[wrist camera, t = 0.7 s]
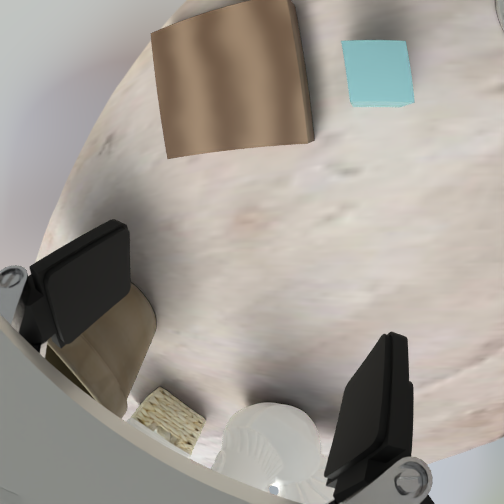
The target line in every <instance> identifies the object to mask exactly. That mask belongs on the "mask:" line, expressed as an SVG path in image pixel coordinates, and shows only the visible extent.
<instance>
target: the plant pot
mask: <svg viewBox="0 0 504 504" xmlns="http://www.w3.org/2000/svg"><path fill="white" fill-rule="evenodd" d="M155 331H156V318H155V314H154V312H153V309H152V307H151V305H150V303H149V302H148V300H147V299H146V297H145V296H144V295H143V293H142V292H141V291H140V290H139V289H138V288H137V287H136V286H135V285H134V284H132V283H131V288H130V291H129V293H128V294H127V295H126V296H125V297H124V298H123V299H122V300H120V301H119V302H118V303H117V304H116V305H114V306H113V307H112V308H111V309H110V310H109V311H107V312H106V313H105V314H104V315H103V316H102V317H100V318H99V319H98V320H97V321H96V322H95V323H93V324H92V325H91V326H90V327H89V328H88V329H87V330H85V331H84V332H83V333H82V334H81V335H80V336H79V337H77V338H76V339H75V340H74V341H73V342H72V343H70V344H66V345H65V346H64V347H63V348H60V347H58V346H57V345H56V344H55V343H54V342H53V341H52V339H51V337H50V338H49V339H48V341H47V348H46V354H45V359H46V360H47V361H48V362H49V363H50V364H52V365H53V366H54V367H55V368H56V369H57V370H58V371H59V372H61V373H62V374H63V375H64V376H65V377H67V378H68V379H69V380H70V381H71V382H73V383H74V384H75V385H76V386H77V387H79V388H80V389H81V390H82V391H84V392H85V393H86V394H88V395H89V396H90V397H91V398H93V399H94V400H95V401H97V402H98V403H99V404H101V405H102V406H104V407H105V408H106V409H108V410H109V411H111V412H112V413H113V414H115V415H116V416H118V417H119V418H121V419H122V417H123V416H124V414H125V413H126V411H127V398H128V395H129V393H130V391H131V388H132V386H133V384H134V382H135V379H136V377H137V374H138V372H139V370H140V367H141V365H142V363H143V360H144V358H145V356H146V353H147V351H148V348H149V346H150V344H151V341H152V339H153V336H154V333H155Z"/></svg>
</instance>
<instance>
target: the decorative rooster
mask: <svg viewBox="0 0 504 504" xmlns="http://www.w3.org/2000/svg"><path fill="white" fill-rule="evenodd" d="M321 452H322V448H321V441H320V437H319V434H318V431H317V428H316V426H315V424H314V423H313V421H312V420H311V419H310V417H309V416H308V415H307V414H306V413H305V412H303V411H302V410H300V409H298V408H295V407H293V406H290V405H284V404H278V403H271V402H265V403H258V404H254V405H251V406H248V407H246V408H244V409H242V410H239V411H238V412H236V413H235V414H234V415H233V416H232V417H231V418H230V420H229V422H228V423H227V425H226V427H225V429H224V432H223V437H222V447H221V451H220V452H219V453H218V455H217V457H216V460H215V463H214V464H213V465H212V467H211V470H214V471H216V472H218V473H220V474H223V475H225V476H227V477H230V478H232V479H234V480H237V481H239V482H242V483H244V484H247V485H249V486H252V487H254V488H257V489H260V490H262V491H265V492H268V493H270V492H269V487H270V486H271V485H273V486H277V487H278V489H279V493H278V495H277V496H280V497H283V498H286V499H289V500H292V501H295V502H299V503H302V504H326V503H327V502H329V501H330V500H332V499H333V498H334V497H333V493H334V490H335V488H332V487H328V486H326V482H327V479H328V478H325V477H324V471H325V468H326V464H327V461H328V458H327V457H326V456H324V455H323V454H321Z"/></svg>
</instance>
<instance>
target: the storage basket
mask: <svg viewBox="0 0 504 504" xmlns="http://www.w3.org/2000/svg"><path fill="white" fill-rule="evenodd" d="M126 422H127V423H128V424H130V425H131V426H133V427H134V428H136V429H138V430H139V431H141V432H142V433H144V434H146V435H147V436H149V437H151V438H152V439H154V440H156V441H158V442H159V443H161V444H163V445H164V446H166V447H168V448H170V449H172V450H173V451H175V452H177V453H179V454H181V455H183V456H185V457H187V458H189V459H190V457H191V454H192V450H193V449H194V446H195V444H196V442H197V439H198V438H199V436H200V434H201V431H202V428H203V426H204V424H205V422H206V420H205V419H204V418H203V417H202V416H201V415H199V414H198V413H196V412H195V411H194V410H192V409H190V408H189V407H188V406H187V405H185V404H184V403H182V402H181V401H180V400H179V399H177V398H176V397H174V396H173V395H171V393H169V392H168V391H166V390H164V389H163V388H161V387H158V388H157V389H156V390H154V392H152V393H151V394H150V395H148V397H147V398H146V399H145V400H144V401H143V402H142V404H141V405H140V406H139V407H138V408H137V409H136V412H134V414H133V415H132V416H131V418H130V419H128V420H127V421H126Z"/></svg>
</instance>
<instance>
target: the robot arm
mask: <svg viewBox="0 0 504 504" xmlns="http://www.w3.org/2000/svg"><path fill="white" fill-rule="evenodd" d="M496 11H497V15H498V19H499V21H500V24H501V26H502V29H503V31H504V0H496ZM30 271H31V275H30V276H28V274H27V270H26V269H25V268H23V267H21V266H16V265H15V266H9V267H6V268H4V269H3V270H1V271H0V504H302V503H299V502H295V501H292V500H289V499H286V498H283V497H280V496H277V495H274V494H271V493H268V492H265V491H262V490H260V489H257V488H254V487H252V486H249V485H247V484H244V483H242V482H239V481H237V480H234V479H232V478H230V477H227V476H225V475H223V474H220V473H218V472H216V471H214V470H211V469H209V468H207V467H205V466H203V465H201V464H199V463H197V462H195V461H193V460H191V459H189V458H187V457H185V456H183V455H181V454H179V453H177V452H175V451H173V450H172V449H170V448H168V447H166V446H164V445H163V444H161V443H159V442H158V441H156V440H154V439H152V438H151V437H149V436H147V435H146V434H144V433H142V432H141V431H139V430H138V429H136V428H134V427H133V426H131V425H130V424H128V423H127V422H125V421H124V420H122V419H121V418H119V417H118V416H116V415H115V414H113V413H112V412H111V411H109V410H108V409H106V408H105V407H104V406H102V405H101V404H99V403H98V402H97V401H95V400H94V399H93V398H91V397H90V396H89V395H88V394H86V393H85V392H84V391H82V390H81V389H80V388H79V387H77V386H76V385H75V384H74V383H73V382H71V381H70V380H69V379H68V378H67V377H65V376H64V375H63V374H62V373H61V372H59V371H58V370H57V369H56V368H55V367H54V366H53V365H52V364H50V363H49V362H48V361H47V360H46V359H45V354H46V348H47V341H48V339H49V338H50V337H51V339H52V341H53V342H54V343H55V344H56V345H57V346H58V347H60V348H63V347H64V346H65V345H66V344H70V343H72V342H73V341H74V340H75V339H76V338H77V337H79V336H80V335H81V334H82V333H83V332H84V331H85V330H87V329H88V328H89V327H90V326H91V325H92V324H93V323H95V322H96V321H97V320H98V319H99V318H100V317H102V316H103V315H104V314H105V313H106V312H107V311H109V310H110V309H111V308H112V307H113V306H114V305H116V304H117V303H118V302H119V301H120V300H122V299H123V298H124V297H125V296H126V295H127V294H128V293H129V291H130V288H131V280H130V234H129V230H128V228H127V225H125V224H124V223H121V222H119V221H117V220H114V219H112V220H110V221H108V222H106V223H104V224H102V225H100V226H98V227H97V228H95V229H93V230H91V231H89V232H87V233H86V234H84V235H82V236H80V237H78V238H77V239H75V240H73V241H71V242H70V243H68V244H66V245H64V246H63V247H61V248H59V249H58V250H56V251H54V252H53V253H51V254H49V255H48V256H46V257H44V258H43V259H41V260H39V261H38V262H36V263H34V264H33V265H31V266H30ZM412 436H413V384H412V382H410V381H409V361H408V340H407V337H405V336H402V335H400V334H397V333H394V332H390V333H389V334H388V335H386V334H383V335H382V336H381V337H380V339H379V340H378V342H377V343H376V345H375V346H374V348H373V349H372V351H371V352H370V353H369V355H368V356H367V358H366V359H365V361H364V362H363V363H362V365H361V366H360V367H359V369H358V370H357V372H356V373H355V374H354V376H353V377H352V378H351V380H350V381H349V382H348V384H347V386H346V388H345V391H344V395H343V400H342V404H341V409H340V413H339V418H338V422H337V426H336V430H335V434H334V438H333V442H332V446H331V450H330V454H329V457H328V461H327V464H326V468H325V471H324V477H325V478H328V479H327V482H326V486H328V487H332V488H335V490H334V493H333V497H334V498H333V499H332V500H330V501H329V502H327V503H326V504H434V502H433V501H432V500H431V498H430V497H429V495H428V493H429V492H430V490H431V487H432V474H431V470H430V469H429V467H428V466H427V464H426V463H425V462H424V461H423V460H421V459H419V458H416V457H411V452H412Z"/></svg>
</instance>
